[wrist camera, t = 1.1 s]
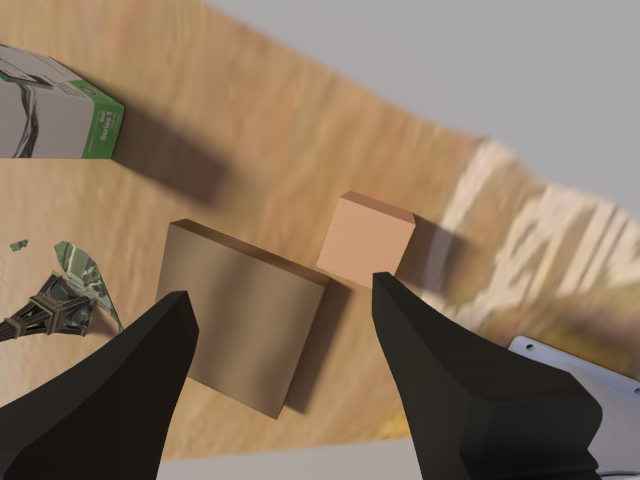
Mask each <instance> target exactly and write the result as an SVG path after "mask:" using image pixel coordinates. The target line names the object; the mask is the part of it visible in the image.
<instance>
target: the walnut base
mask: <svg viewBox="0 0 640 480" xmlns="http://www.w3.org/2000/svg"><path fill="white" fill-rule="evenodd" d="M330 278H331V277H328V276H326V275H323V274H321V273H318V272H316V271H313V270H311V269H309V268H306V267H304V266H301V265H299V264H296V263H294V262H291V261H289V260H286V259H284V258H281V257H279V256H277V255H274V254H272V253H269V252H267V251H264V250H262V249H259V248H257V247H254V246H252V245H249V244H247V243H245V242H242V241H240V240H237V239H235V238H232V237H230V236H227V235H225V234H222V233H220V232H217V231H215V230H213V229H210V228H208V227H205V226H203V225H200V224H198V223H195V222H193V221H190V220H188V219H183V220H179V221H175V222H171V223H169V228H168V233H167V239H166V245H165V250H164V256H163V262H162V267H161V273H160V278H159V284H158V290H157V295H156V301H155V304H156V303H157V302H158V301H160V300H161V299H162V298H163V297H165V296H166V295H167V294H169V293H170V292H172V291H183V290H187V291H188V295H189V298H190V301H191V304H192V308H193V311H194V314H195V317H196V321H197V324H198V327H199V330H200V331H199V336H198V341H197V346H196V350H195V354H194V357H193V360H192V363H191V366H190V369H189V371H188V374H187V377H189V378H191V379H193V380H195V381H197V382H199V383H201V384H203V385H205V386H208V387H210V388H212V389H214V390H216V391H218V392H220V393H222V394H224V395H226V396H228V397H230V398H232V399H234V400H236V401H238V402H240V403H242V404H245V405H247V406H249V407H251V408H253V409H255V410H257V411H259V412H261V413H263V414H265V415H267V416H269V417H271V418H273V419H275V420H277V418H278V416H279V414H280V412H281V410H282V408H283V406H284V404H285V401H286V398H287V396H288V393H289V390H290V387H291V385H292V382H293V379H294V376H295V374H296V371H297V368H298V365H299V363H300V360H301V357H302V355H303V352H304V349H305V346H306V344H307V341H308V338H309V335H310V333H311V330H312V327H313V324H314V322H315V319H316V316H317V313H318V311H319V308H320V305H321V303H322V300H323V297H324V294H325V292H326V289H327V286H328V283H329V281H330Z"/></svg>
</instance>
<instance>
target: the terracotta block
mask: <svg viewBox="0 0 640 480" xmlns="http://www.w3.org/2000/svg"><path fill="white" fill-rule="evenodd" d="M415 226H416V224H415V220H414V216H413V213H411V212H409V211H406V210H403V209H400V208H398V207H395V206H392V205H389V204H386V203H384V202H381V201H378V200H375V199H373V198H370V197H367V196H364V195H362V194H359V193H356V192H353V191H349V192H347V193H346V194H344V195H342V196H341V197H340V198H339V201H338V204H337V206H336V209H335V212H334V215H333V218H332V221H331V224H330V227H329V230H328V233H327V235H326V238H325V241H324V244H323V247H322V250H321V253H320V256H319V259H318V262H317V265H316V267H318V268H321V269H323V270H326V271H328V272H331V273H333V274H336V275H338V276H341V277H343V278H346V279H348V280H351V281H353V282H356V283H358V284H361V285H363V286H365V287H368V288H370V289H372V278H373V273H377V272H387V271H388V272H389V273H390V274H392V275H393V276H394V274H395V272H396V270H397V267H398V265H399V263H400V260H401V258H402V256H403V253H404V251H405V249H406V247H407V244H408V242H409V240H410V237H411V235H412V233H413V230H414V228H415Z"/></svg>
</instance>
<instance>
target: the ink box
mask: <svg viewBox="0 0 640 480" xmlns="http://www.w3.org/2000/svg"><path fill="white" fill-rule="evenodd" d="M123 114H124V106H123V105H121V104H120V103H118V102H117V101H115V100H114V99H112V98H111V97H109V96H108V95H106V94H104V93H103V92H102V91H100V90H98V89H97V88H95V87H94V86H92V85H91V84H89V83H88V82H86V81H85V80H83V79H82V78H80V77H79V76H77V75H76V74H74V73H73V72H71V71H70V70H68V69H67V68H65V67H64V66H62V65H61V64H59V63H58V62H56V61H54V60H53V59H51V58H50V57H48V56H46V55H41V54H38V53H34V52H31V51H27V50H24V49H21V48H17V47H14V46H10V45H7V44H3V43H0V158H56V159H110V158H111V156H112V153H113V150H114V147H115V144H116V140H117V137H118V134H119V130H120V126H121V122H122V118H123Z"/></svg>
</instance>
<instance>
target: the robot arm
mask: <svg viewBox="0 0 640 480" xmlns="http://www.w3.org/2000/svg"><path fill="white" fill-rule="evenodd" d="M372 317H373V321H374V325H375V329H376V333H377V337H378V339H379V342H380V344H381V347H382V350H383V352H384V355H385V357H386V360H387V362H388V365H389V367H390V370H391V372H392V375H393V378H394V380H395V383H396V385H397V388H398V391H399V394H400V397H401V400H402V403H403V407H404V410H405V414H406V417H407V421H408V424H409V428H410V432H411V436H412V439H413V443H414V446H415V451H416V454H417V458H418V462H419V466H420V470H421V474H422V478H423V480H640V389H639V390H638V391H635V389H637V388H640V382H639V381H636V380H633V379H631V378H628V377H626V376H623V375H621V374H618V373H616V372H613V371H611V370H608V369H606V368H603V367H601V366H598V365H596V364H593V363H591V362H588V361H586V360H583V359H581V358H578V357H576V356H573V355H571V354H568V353H566V352H563V351H561V350H558V349H556V348H553V347H550V346H548V345H545V344H543V343H540V342H538V341H535V340H533V339H530V338H528V337H525V336H517V337H515V338H514V340H513V341H512V343H511V345H510V346H509V348H508V349H505V348H503V347H501V346H499V345H496V344H494V343H492V342H490V341H488V340H486V339H484V338H482V337H480V336H478V335H476V334H474V333H472V332H470V331H469V330H467V329H465V328H463V327H462V326H460V325H458V324H457V323H455V322H453V321H451V320H450V319H448V318H447V317H445V316H444V315H442V314H441V313H439V312H438V311H436V310H435V309H434V308H432V307H431V306H429V305H428V304H427V303H425V302H424V301H423V300H421V299H420V298H419V297H418V296H416V295H415V294H414V293H413V292H411V291H410V290H409V289H408V288H407V287H405V286H404V285H403V284H402V283H401V282H400V281H398V280H397V279H396V278H395V277H394V276H393V275H392V274H390V273H389V272H388V271H387V272H377V273H373V278H372ZM199 331H200V330H199V327H198V324H197V321H196V317H195V314H194V311H193V308H192V304H191V301H190V298H189V295H188V291H187V290H183V291H172V292H170V293H169V294H167V295H166V296H165V297H163V298H162V299H161V300H160V301H158V302H157V303H156V304H155V305H154V306H152V307H151V308H150V309H149V310H148V311H147V312H145V313H144V314H143V315H142V316H141V317H139V318H138V319H137V320H136V321H135V322H133V323H132V324H131V325H130V326H128V327H127V328H126V329H125V330H123V331H122V332H121V333H119V334H118V335H117V336H116V337H114V338H113V339H112V340H110V341H109V342H108V343H106V344H105V345H104V346H103V347H101V348H100V349H98V350H97V351H96V352H94V353H93V354H91V355H90V356H88V357H87V358H85V359H84V360H82V361H81V362H79V363H78V364H76V365H75V366H73V367H72V368H70V369H69V370H67V371H65V372H64V373H62V374H60V375H59V376H57V377H55V378H53V379H52V380H50V381H48V382H47V383H45V384H43V385H42V386H40V387H38V388H37V389H35V390H33V391H31V392H29V393H28V394H26V395H24V396H22V397H20V398H18V399H16V400H14V401H13V402H11V403H9V404H7V405H5V406H3V407H1V408H0V480H156V477H157V473H158V469H159V464H160V460H161V456H162V452H163V448H164V444H165V440H166V436H167V432H168V428H169V425H170V421H171V418H172V415H173V412H174V409H175V407H176V404H177V401H178V398H179V396H180V393H181V390H182V388H183V385H184V382H185V380H186V377H187V374H188V371H189V369H190V366H191V363H192V360H193V357H194V354H195V350H196V346H197V341H198V336H199ZM529 344H532V347H531V348H526V346H527V345H529Z"/></svg>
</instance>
